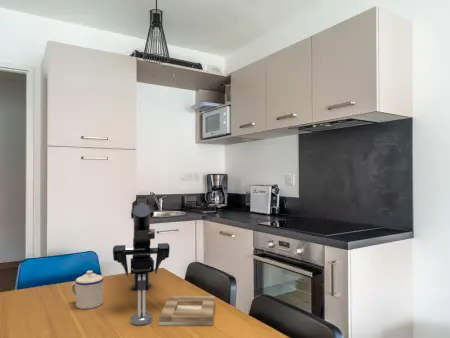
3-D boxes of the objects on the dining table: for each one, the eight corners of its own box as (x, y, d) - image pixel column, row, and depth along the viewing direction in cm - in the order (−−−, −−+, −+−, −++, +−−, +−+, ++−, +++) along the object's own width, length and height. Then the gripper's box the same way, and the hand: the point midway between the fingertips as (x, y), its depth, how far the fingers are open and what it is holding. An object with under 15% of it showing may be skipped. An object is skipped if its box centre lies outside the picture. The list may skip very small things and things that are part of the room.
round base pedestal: (131, 318, 108) (131, 273, 109) (151, 316, 110) (152, 272, 110) (130, 326, 102) (130, 279, 102) (152, 324, 104) (152, 277, 104)
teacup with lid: (108, 301, 123) (108, 268, 123) (91, 311, 114) (91, 275, 114) (80, 297, 126) (80, 266, 126) (62, 307, 117) (62, 272, 118)
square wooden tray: (169, 303, 121) (169, 295, 121) (214, 303, 121) (214, 296, 121) (159, 325, 103) (159, 317, 103) (212, 325, 103) (212, 317, 103)
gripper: (113, 221, 116) (110, 262, 105) (169, 220, 120) (171, 258, 109) (115, 240, 123) (112, 280, 112) (167, 238, 128) (169, 276, 117)
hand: (141, 274), depth 113 cm, fingers open, 9 cm apart
